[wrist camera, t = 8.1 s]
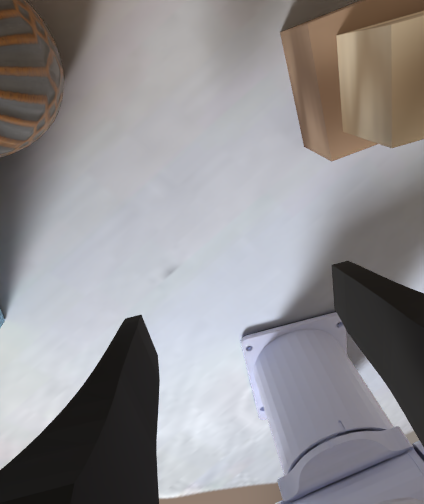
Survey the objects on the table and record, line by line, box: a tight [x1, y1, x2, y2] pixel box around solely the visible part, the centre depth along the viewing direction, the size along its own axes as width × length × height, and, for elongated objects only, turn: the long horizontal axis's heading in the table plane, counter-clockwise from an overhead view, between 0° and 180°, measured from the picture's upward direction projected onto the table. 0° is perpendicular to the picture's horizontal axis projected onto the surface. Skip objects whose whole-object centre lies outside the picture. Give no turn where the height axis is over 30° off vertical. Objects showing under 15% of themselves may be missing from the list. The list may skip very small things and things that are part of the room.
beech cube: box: [336, 11, 424, 148], centre depth 14 cm, size 4×4×4 cm
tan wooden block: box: [280, 0, 424, 161], centre depth 18 cm, size 6×6×4 cm
